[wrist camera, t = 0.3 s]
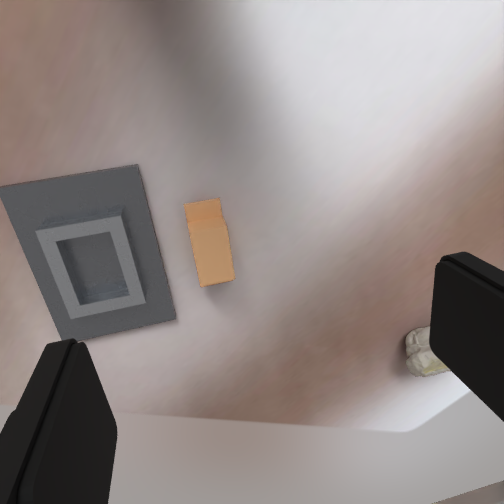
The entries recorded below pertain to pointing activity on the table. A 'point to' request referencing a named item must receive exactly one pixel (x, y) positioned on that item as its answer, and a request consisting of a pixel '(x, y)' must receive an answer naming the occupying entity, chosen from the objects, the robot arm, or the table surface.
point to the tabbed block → (210, 242)
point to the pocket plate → (92, 250)
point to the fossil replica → (422, 354)
